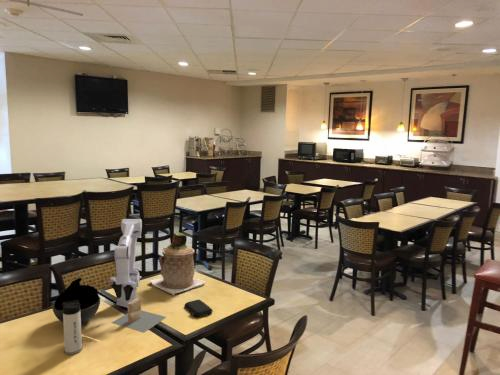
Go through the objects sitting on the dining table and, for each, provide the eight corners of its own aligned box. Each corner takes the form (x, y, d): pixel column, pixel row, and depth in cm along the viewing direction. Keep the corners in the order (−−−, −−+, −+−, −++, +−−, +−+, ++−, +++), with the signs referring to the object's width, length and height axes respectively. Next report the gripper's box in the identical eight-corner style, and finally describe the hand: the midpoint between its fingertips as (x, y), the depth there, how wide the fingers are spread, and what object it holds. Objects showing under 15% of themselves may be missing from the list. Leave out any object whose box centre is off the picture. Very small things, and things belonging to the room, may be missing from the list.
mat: (111, 323, 173) (111, 322, 173) (135, 309, 188) (135, 308, 187) (144, 333, 165) (144, 332, 165) (166, 318, 180) (166, 317, 180)
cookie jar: (207, 284, 221) (208, 231, 216) (172, 297, 203) (172, 239, 199) (182, 273, 238) (182, 223, 233) (147, 283, 220) (146, 230, 215)
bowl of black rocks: (82, 336, 162) (80, 294, 159) (42, 329, 166) (40, 289, 164) (109, 315, 181) (108, 277, 178) (73, 309, 186) (72, 273, 183)
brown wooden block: (127, 321, 174) (127, 303, 173) (136, 316, 180) (136, 298, 178) (132, 323, 173) (131, 304, 172) (141, 317, 178) (140, 299, 177)
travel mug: (67, 346, 154) (65, 299, 151) (84, 345, 155) (82, 299, 152) (61, 355, 148) (58, 306, 145) (78, 354, 149) (76, 306, 146)
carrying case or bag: (180, 308, 191) (194, 320, 179) (180, 302, 190) (194, 314, 179) (199, 303, 197) (214, 314, 185) (199, 297, 197) (214, 308, 185)
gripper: (104, 271, 175) (105, 298, 177) (128, 276, 169) (129, 305, 171) (115, 266, 182) (116, 293, 183) (139, 271, 176) (140, 299, 177)
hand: (123, 298), depth 178 cm, fingers open, 5 cm apart
